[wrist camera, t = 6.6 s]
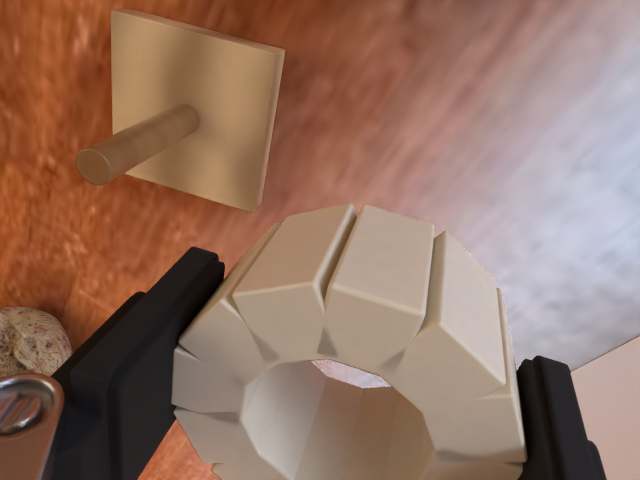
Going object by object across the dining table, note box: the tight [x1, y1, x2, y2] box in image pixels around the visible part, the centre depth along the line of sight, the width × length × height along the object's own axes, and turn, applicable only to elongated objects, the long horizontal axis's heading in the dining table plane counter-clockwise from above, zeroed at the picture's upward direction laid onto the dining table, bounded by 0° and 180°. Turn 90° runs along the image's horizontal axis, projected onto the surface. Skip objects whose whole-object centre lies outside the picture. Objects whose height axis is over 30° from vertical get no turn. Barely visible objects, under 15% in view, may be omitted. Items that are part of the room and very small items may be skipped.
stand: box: [76, 8, 285, 213], centre depth 24 cm, size 9×9×10 cm
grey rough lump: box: [0, 306, 73, 378], centre depth 38 cm, size 11×7×10 cm
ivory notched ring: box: [171, 203, 528, 480], centre depth 10 cm, size 6×6×3 cm
